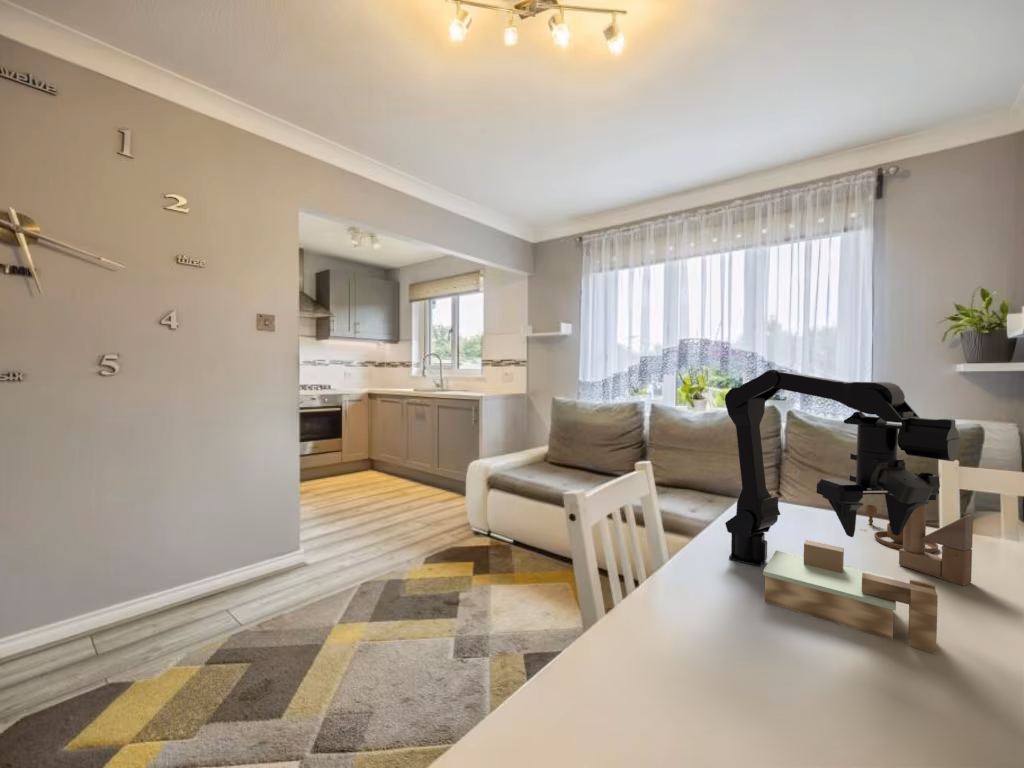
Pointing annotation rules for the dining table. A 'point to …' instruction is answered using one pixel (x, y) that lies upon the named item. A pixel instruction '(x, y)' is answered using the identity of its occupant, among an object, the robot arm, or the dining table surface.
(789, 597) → the tan wooden box
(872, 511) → the place setting
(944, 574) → the wooden block structure
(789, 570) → the lid
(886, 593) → the wooden plank
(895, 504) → the robot arm
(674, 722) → the dining table surface
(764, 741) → the dining table surface
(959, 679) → the dining table surface
